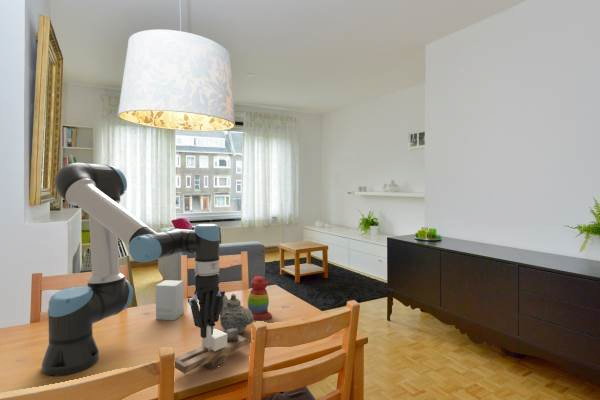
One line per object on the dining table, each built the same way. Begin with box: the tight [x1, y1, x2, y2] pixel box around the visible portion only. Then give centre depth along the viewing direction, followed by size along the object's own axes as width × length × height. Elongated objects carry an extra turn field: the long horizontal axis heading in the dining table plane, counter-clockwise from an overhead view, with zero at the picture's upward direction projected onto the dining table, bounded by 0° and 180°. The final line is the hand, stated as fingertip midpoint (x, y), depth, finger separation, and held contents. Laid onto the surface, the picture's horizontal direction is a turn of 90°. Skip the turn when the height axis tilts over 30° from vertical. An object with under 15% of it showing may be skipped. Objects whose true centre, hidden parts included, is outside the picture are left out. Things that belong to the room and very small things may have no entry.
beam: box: [174, 328, 248, 375], centre depth 111 cm, size 24×7×8 cm, turn 141°
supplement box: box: [155, 279, 185, 321], centre depth 150 cm, size 9×9×15 cm
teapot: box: [219, 293, 255, 335], centre depth 136 cm, size 21×12×15 cm, turn 48°
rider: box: [208, 328, 227, 351], centre depth 111 cm, size 5×6×6 cm
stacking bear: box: [247, 275, 273, 321], centre depth 152 cm, size 11×10×18 cm
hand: (206, 346), depth 109 cm, fingers closed
